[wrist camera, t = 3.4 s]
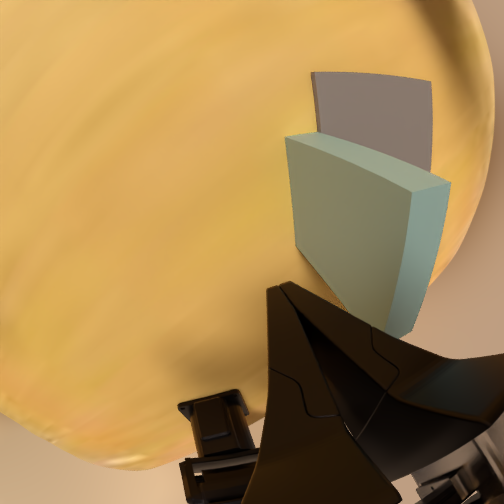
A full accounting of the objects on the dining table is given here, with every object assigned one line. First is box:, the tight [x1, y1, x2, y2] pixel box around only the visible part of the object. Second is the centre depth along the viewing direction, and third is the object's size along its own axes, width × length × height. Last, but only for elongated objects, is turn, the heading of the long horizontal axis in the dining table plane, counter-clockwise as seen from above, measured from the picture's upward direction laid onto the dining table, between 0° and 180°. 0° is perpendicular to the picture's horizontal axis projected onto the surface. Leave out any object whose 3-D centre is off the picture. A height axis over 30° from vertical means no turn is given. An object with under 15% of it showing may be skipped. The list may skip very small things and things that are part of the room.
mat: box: [311, 72, 433, 172], centre depth 16 cm, size 14×10×1 cm
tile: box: [285, 132, 451, 339], centre depth 12 cm, size 7×2×9 cm, turn 9°
